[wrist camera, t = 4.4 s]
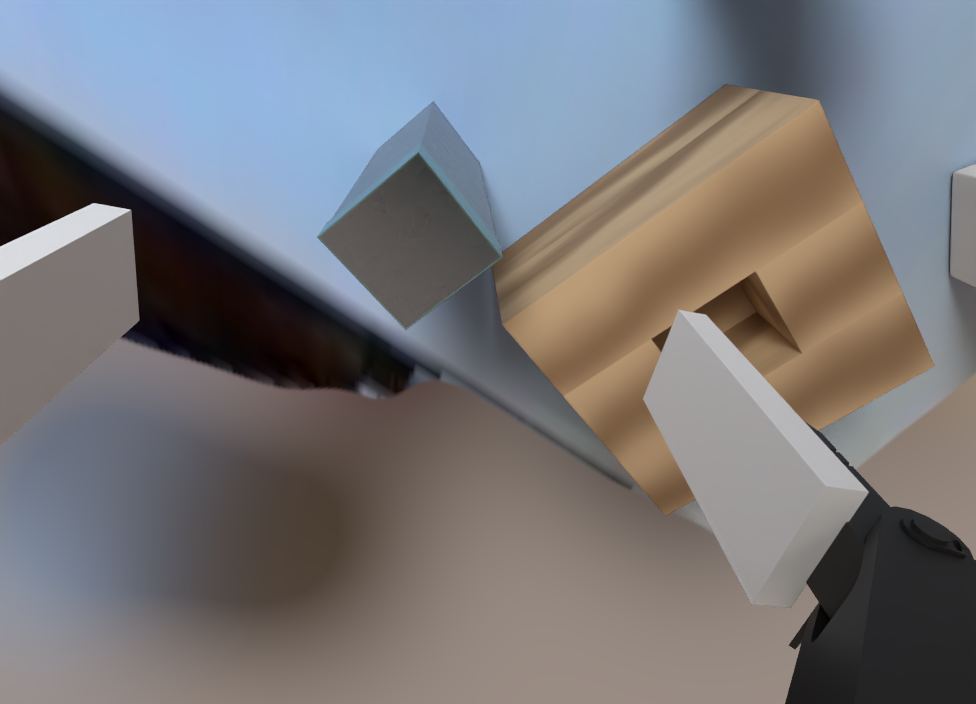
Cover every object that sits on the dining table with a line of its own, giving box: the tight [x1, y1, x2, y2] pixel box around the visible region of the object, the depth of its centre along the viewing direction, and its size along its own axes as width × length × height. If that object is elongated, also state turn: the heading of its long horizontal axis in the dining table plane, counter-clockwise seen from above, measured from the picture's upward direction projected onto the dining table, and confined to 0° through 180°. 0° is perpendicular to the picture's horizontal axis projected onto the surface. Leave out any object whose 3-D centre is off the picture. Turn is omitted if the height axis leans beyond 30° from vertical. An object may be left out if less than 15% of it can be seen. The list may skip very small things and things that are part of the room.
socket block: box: [492, 84, 934, 516], centre depth 33 cm, size 16×16×9 cm
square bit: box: [317, 101, 503, 330], centre depth 25 cm, size 4×4×16 cm
